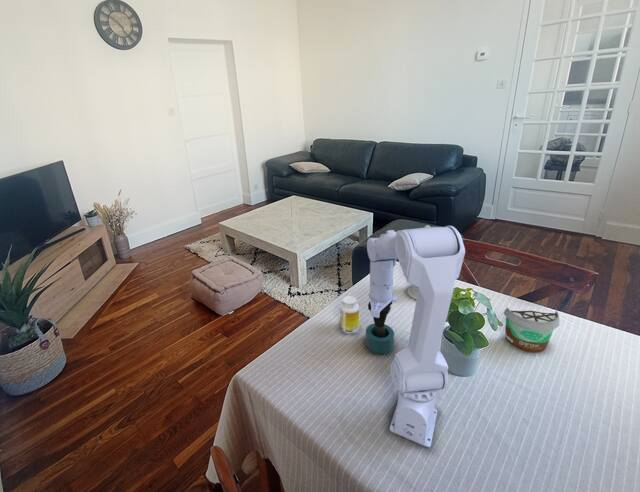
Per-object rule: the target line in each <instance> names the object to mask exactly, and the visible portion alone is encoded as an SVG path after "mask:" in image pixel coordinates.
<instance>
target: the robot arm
mask: <svg viewBox="0 0 640 492" xmlns="http://www.w3.org/2000/svg"><path fill="white" fill-rule="evenodd" d="M366 251H367V257H368V259H369V293H368V300H369V301H368V304H367V308H368V310H369V312H370V317H372V319H373V324H374V323H375V326H378V327H382V328H383V326H384V324H385V323H386V320H387V316H388V314H389V313H390V311H391V309H392V304H393V303H396V302H397V300H398V296H397V295H395V294H393V293H394V292H393V291H394V270H395V269H394V267H395V266H396V265H397V260H398V262H399V265H400V269H401V271H402V273H403V276H404V277H405V280H406V283H408V284H410V285H411V284H412V285H414V286H416V287H418V288H419V290H418V295H417V300H416V299H415V300H416V301H415V307H414V311H413V316H412V317H413V318H412V323H411V327H410V333H409V340H408V344H407V346H405V347H404V348H403V349H401V350H399V351H397V352H396V353H395V354H394V358H393V359H392V360H391V362H390V364H389V372H390V377H391V380H392V384H393V386H394V388H395V390H396V391H397V404H396V407H395V409H394V413H393V416H392V419H391V422H390V425H389V431H390V432H392V433H393V434H395V435H398V436H401V437H403V438H405V439H408V440H409V441H412V442H414V443H416V444H419V445H421V446H424V447H425V448H431V446H432V442H433V436H434V431H435V427H436V420H437V415H438V410H437V409H436V406H435V405H436V398H437V395H440V394H441V390H445V389H446V388H447V386H448V383H449V373H448V372H449V365H448V363H447V360H446V358H445V357H444V355H443V353H442V351H440V345H441V342H442V337H443V333H444V330H445V326H446V321H447V318H448V315H449V310H450V306H451V302H452V298H453V294H454V288H455V281H456V280H457V279H459V277H460V274H461V270H462V266H463V262H464V259H465V255H466V247H465V245H464V240H463V238H462V235H461V233H460V232H459V230H457V228H456V227H455V226H453V225H446V226H432V227H431V226H430V228H424V227H419V228H418V227H417V228H408V229H401V230H397V231H395V230H394V229H388V230H386V231H385V233H382V234H380V235H379V237H369V238H368V239H367V242H366Z"/></svg>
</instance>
